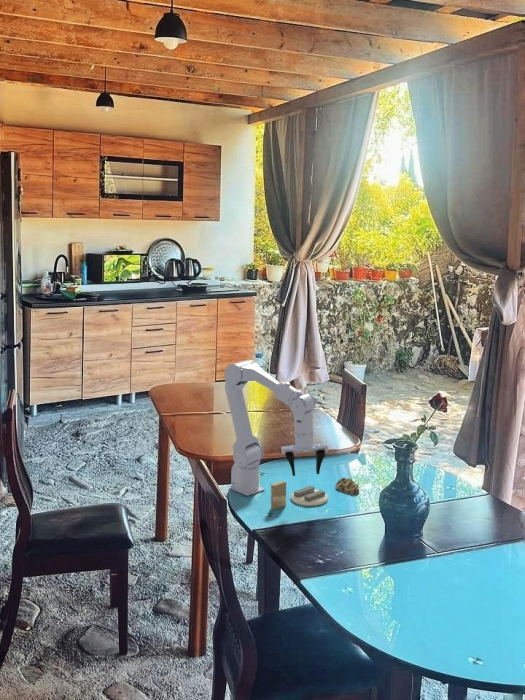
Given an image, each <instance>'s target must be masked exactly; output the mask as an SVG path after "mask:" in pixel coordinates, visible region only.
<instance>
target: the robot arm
mask: <svg viewBox="0 0 525 700" xmlns="http://www.w3.org/2000/svg"><path fill="white" fill-rule="evenodd" d="M223 373H224V378H225V383H224V391H225V394H226V398H227V399H226V400H227V403H228V408H229V411H230V417H231V421H232V425H233V428H234V429H233V430H234V433H235V437H236V440H235V441H234V444H233V445H232V449H233V451H232V452H233V453H232V459H233V462H234V463H233V465H232V467H231V471H230V473H231V476H230V477H231V479H230V481H231V486H229V489H230V490H232V491H235V492H238V493H239V494H242V495H244V496H246V497H247V496H248V497H249V496H251V495H255V494H258V493H259V492H263V491H265V488H264V487H262V486H260V464H261V460H262V459H263V458H264V457H263V456H264V449H263V446H261V444H260V441H259V438H258V437H256V436H255V435H253V430H252V427H251V423H250V422H251V421H250V418H249V414H248V410H247V409H248V408H247V404H246V400H245V396H244V391H243V389H244V388H245V386H246V385H247V383H248V382H249V381H250V382H251V381H255V382H256V383H258V384H260V385H262V386H264V387H265V388H267V389H268V390H270V391H272V392H273V395H274V397H275V398H276V399H278V400H279V401H281V402H282V403H284V404H285V405H287V406H288V407H289V408H290V411H291V412H292V414H293V415H292V416H293V420H294V441H295V444H292V445H285V446H281V454H282V455H285V457H286V459H287V461H288V464H289V466H290V469H291V473H292V476H293V477H295V476H296V470H295V468H296V467H295V453H296V454H299V453H311V452H313V453H314V452H315V461H316V462H315V473H316V475H320V472H321V471H320V470H321V466H322V464H323V460H324V459H325V456H326V452H329V445H328V443H315V442H314V425H313V424H314V420H313V410H314V409H315V407H316V399H315V397H314V396H313V395H312V394H311V393H309V392H305V393H304V392H303V391H302V390H301V389H300V390H298V389H297V388H295V387H294V386H292V385H291V383H290V381H282V382H279V381H278V380H276V379H275V378H274V377H273V376H271V375H270V374H269V373H268V372H266V371H265V370H264V369H263V368H261V367H260V365H259V364H258V363H257V362H254V360H252V359H244V360H241V361H238V362H235V363H230V364H228V366H227V367H226V368H225V370H224V371H223Z"/></svg>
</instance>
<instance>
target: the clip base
mask: <svg viewBox="0 0 525 700" xmlns="http://www.w3.org/2000/svg"><path fill="white" fill-rule="evenodd" d="M328 498H329V495H328V494H327V493H326V491H325V490H322V489H315V487H314V486H311V485H308V486H306V487H303V488H300V489H297V490H295V491H293V492H292V493H291V494H290V499H291V502H292V503H294V504H296V505H299V506H304V507H317V506H322V505H324V504H326V503H327V502H328V500H329V499H328Z"/></svg>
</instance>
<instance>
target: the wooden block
mask: <svg viewBox="0 0 525 700" xmlns="http://www.w3.org/2000/svg"><path fill="white" fill-rule="evenodd" d="M270 493H271V494H270V509H272V510H274V511H276V510H278V509H281V508H284V507H286V506H287V481H286V480H281V481H278V482H274V483H271V484H270Z"/></svg>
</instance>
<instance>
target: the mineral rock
mask: <svg viewBox="0 0 525 700" xmlns="http://www.w3.org/2000/svg"><path fill="white" fill-rule="evenodd" d="M359 487H360V486H359V484H357V483H356V482H355V481H354V480H353V479H352V478H349V477H347V478H345V477H342V478H340V479H338V481H337V482H336V484H335V490H338V491H339V492H342V493H344V494H347V495H352V496H353V495H358V494H359V493H360V488H359Z"/></svg>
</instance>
